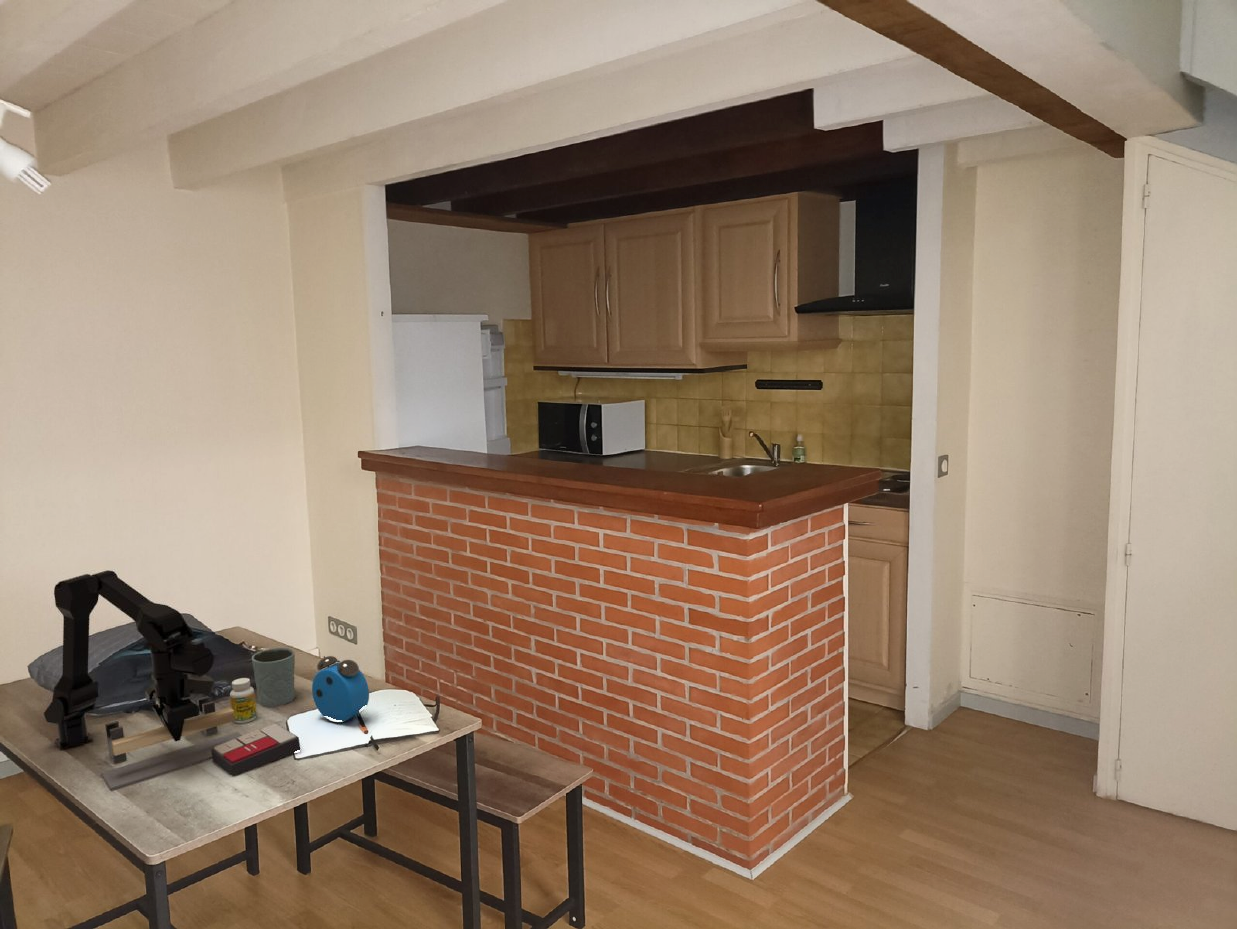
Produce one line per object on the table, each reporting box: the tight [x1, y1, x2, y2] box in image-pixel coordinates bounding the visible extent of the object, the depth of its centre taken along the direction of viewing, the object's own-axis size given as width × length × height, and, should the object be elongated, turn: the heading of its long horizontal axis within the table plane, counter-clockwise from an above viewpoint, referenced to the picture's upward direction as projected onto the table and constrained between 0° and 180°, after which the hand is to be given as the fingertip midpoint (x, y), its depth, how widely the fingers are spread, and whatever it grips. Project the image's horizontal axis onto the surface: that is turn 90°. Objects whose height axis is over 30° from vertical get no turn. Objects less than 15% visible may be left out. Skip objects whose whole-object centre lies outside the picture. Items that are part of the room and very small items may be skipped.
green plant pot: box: [251, 647, 296, 708], centre depth 227 cm, size 10×10×12 cm
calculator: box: [211, 723, 301, 777], centre depth 197 cm, size 11×4×15 cm
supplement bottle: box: [229, 677, 258, 724], centre depth 217 cm, size 5×5×10 cm
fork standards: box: [104, 695, 219, 765], centre depth 205 cm, size 5×21×8 cm, turn 130°
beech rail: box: [111, 707, 235, 756], centre depth 196 cm, size 2×24×2 cm, turn 130°
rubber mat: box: [100, 731, 243, 791], centre depth 197 cm, size 9×28×1 cm, turn 130°
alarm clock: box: [311, 655, 370, 722], centre depth 214 cm, size 13×6×15 cm, turn 60°
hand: (175, 738), depth 196 cm, fingers closed on beech rail, 2 cm apart
